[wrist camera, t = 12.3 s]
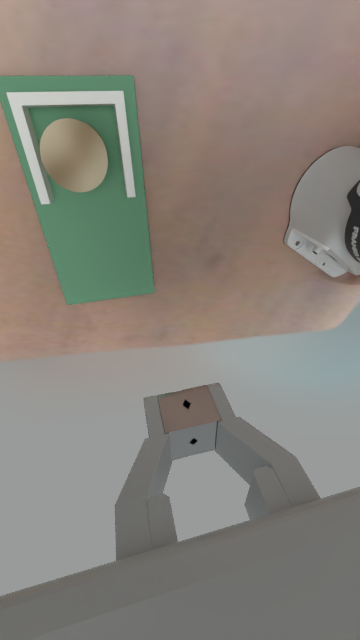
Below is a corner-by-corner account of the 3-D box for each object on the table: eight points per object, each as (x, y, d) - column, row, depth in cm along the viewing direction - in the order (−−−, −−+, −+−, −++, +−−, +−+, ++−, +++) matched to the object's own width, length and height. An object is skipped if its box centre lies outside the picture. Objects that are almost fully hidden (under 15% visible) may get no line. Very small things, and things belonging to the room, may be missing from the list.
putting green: (154, 291, 45) (157, 301, 42) (67, 303, 43) (65, 315, 40) (132, 76, 29) (136, 70, 27) (-6, 77, 27) (-19, 70, 24)
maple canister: (116, 150, 32) (120, 155, 26) (88, 191, 34) (85, 205, 28) (70, 106, 29) (62, 100, 23) (42, 154, 31) (27, 160, 25)
